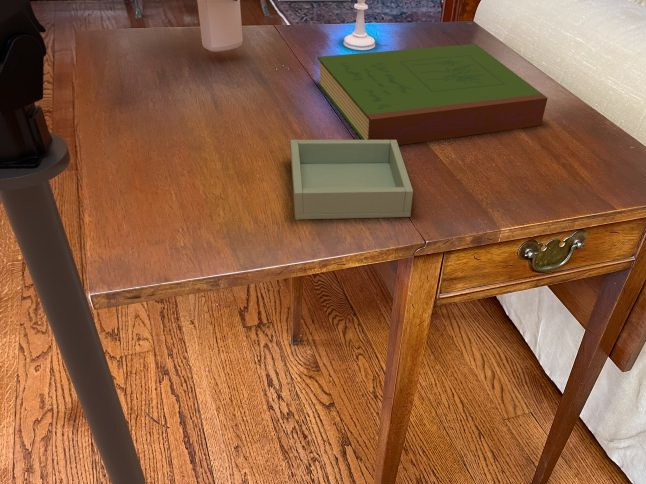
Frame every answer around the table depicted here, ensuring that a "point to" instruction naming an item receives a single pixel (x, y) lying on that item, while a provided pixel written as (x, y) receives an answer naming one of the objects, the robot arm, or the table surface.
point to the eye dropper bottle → (220, 24)
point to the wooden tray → (349, 179)
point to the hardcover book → (428, 93)
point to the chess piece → (359, 31)
